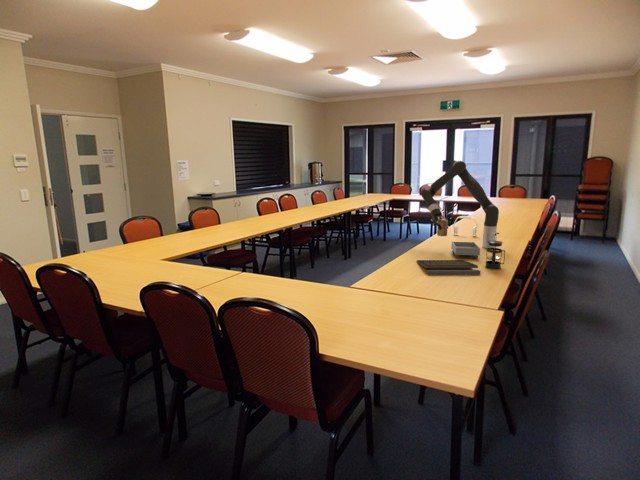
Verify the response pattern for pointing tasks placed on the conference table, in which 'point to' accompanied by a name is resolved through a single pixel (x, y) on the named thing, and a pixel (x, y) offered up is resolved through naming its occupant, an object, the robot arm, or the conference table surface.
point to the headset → (467, 218)
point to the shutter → (449, 265)
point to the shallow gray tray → (465, 249)
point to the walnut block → (444, 227)
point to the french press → (494, 254)
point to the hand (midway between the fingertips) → (444, 229)
